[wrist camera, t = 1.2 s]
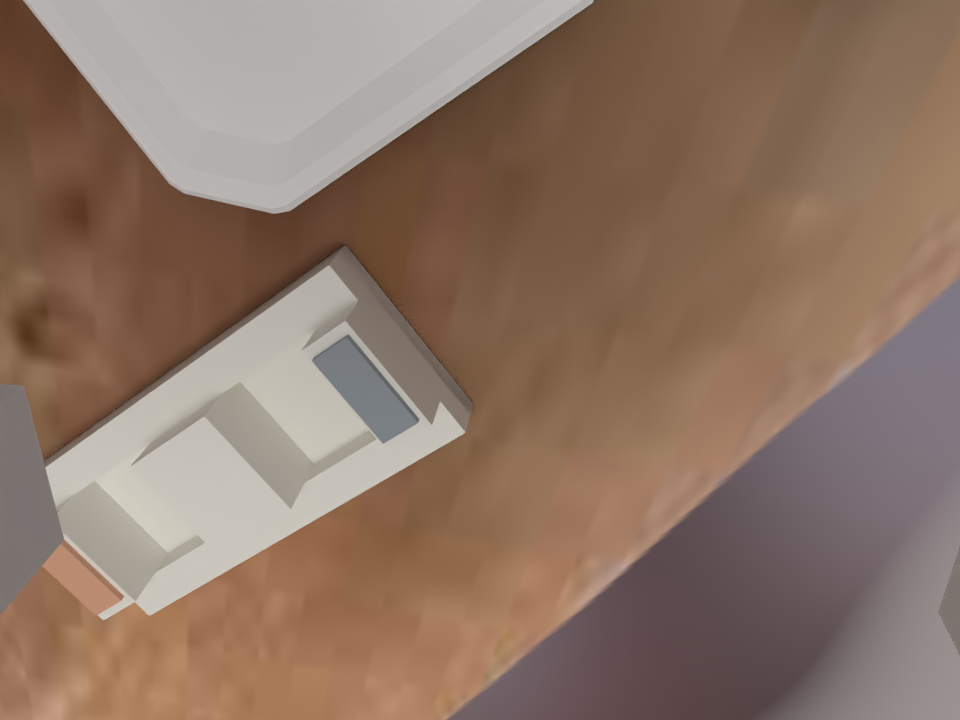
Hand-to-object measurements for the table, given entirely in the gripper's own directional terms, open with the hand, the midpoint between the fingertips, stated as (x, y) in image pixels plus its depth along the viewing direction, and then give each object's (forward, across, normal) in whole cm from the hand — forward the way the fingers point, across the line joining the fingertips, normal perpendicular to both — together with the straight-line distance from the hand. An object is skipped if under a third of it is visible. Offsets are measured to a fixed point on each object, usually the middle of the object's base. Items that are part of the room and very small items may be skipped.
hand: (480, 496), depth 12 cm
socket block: (+24, -14, -14) cm, 31 cm away
